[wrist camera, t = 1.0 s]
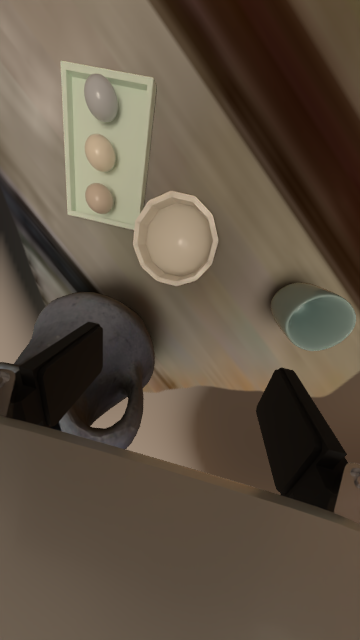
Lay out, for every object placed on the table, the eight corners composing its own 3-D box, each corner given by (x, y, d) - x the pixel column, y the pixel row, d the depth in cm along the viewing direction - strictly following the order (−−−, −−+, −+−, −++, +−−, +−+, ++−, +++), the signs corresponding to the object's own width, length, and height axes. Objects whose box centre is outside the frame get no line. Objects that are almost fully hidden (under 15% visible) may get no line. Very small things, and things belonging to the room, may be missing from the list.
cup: (256, 300, 33) (272, 323, 24) (296, 268, 30) (333, 280, 21) (283, 329, 34) (308, 361, 25) (324, 301, 31) (370, 326, 22)
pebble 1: (96, 86, 25) (76, 59, 21) (124, 91, 24) (108, 65, 21) (95, 126, 26) (77, 107, 23) (122, 131, 26) (107, 113, 22)
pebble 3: (95, 184, 29) (78, 176, 26) (118, 189, 29) (105, 182, 25) (95, 212, 31) (79, 209, 27) (117, 217, 31) (104, 215, 27)
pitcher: (71, 273, 37) (-154, 328, 14) (178, 285, 34) (109, 375, 12) (85, 358, 45) (-42, 476, 23) (172, 373, 43) (125, 523, 20)
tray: (68, 70, 25) (60, 60, 23) (156, 86, 24) (153, 77, 23) (73, 215, 32) (67, 214, 31) (141, 231, 31) (137, 231, 30)
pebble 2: (95, 139, 27) (77, 124, 23) (121, 144, 27) (106, 130, 23) (95, 172, 29) (78, 163, 25) (119, 178, 28) (105, 169, 25)
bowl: (149, 191, 29) (138, 183, 25) (226, 208, 28) (228, 203, 24) (140, 270, 34) (130, 274, 30) (205, 286, 33) (203, 293, 29)
